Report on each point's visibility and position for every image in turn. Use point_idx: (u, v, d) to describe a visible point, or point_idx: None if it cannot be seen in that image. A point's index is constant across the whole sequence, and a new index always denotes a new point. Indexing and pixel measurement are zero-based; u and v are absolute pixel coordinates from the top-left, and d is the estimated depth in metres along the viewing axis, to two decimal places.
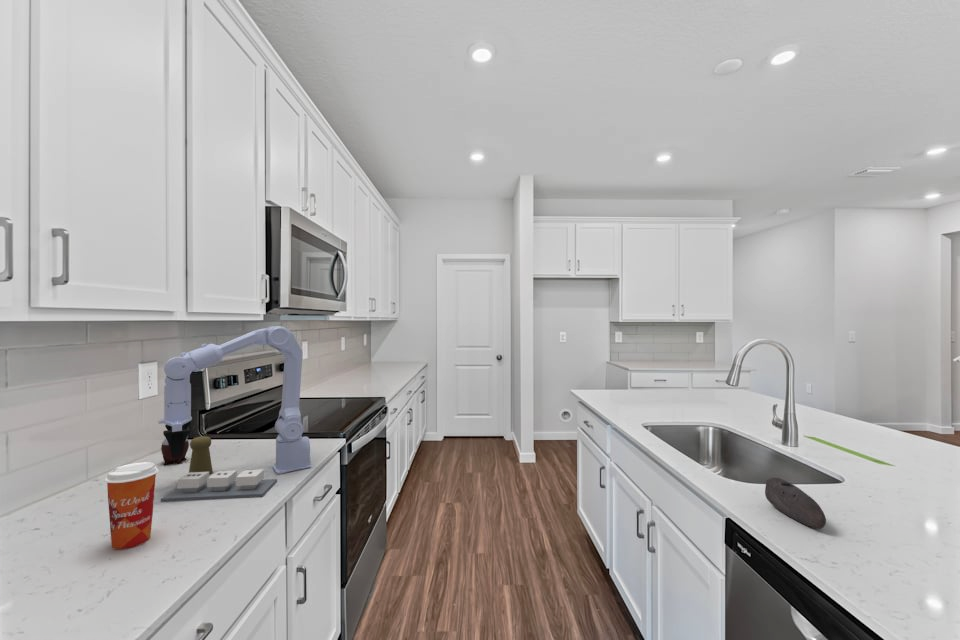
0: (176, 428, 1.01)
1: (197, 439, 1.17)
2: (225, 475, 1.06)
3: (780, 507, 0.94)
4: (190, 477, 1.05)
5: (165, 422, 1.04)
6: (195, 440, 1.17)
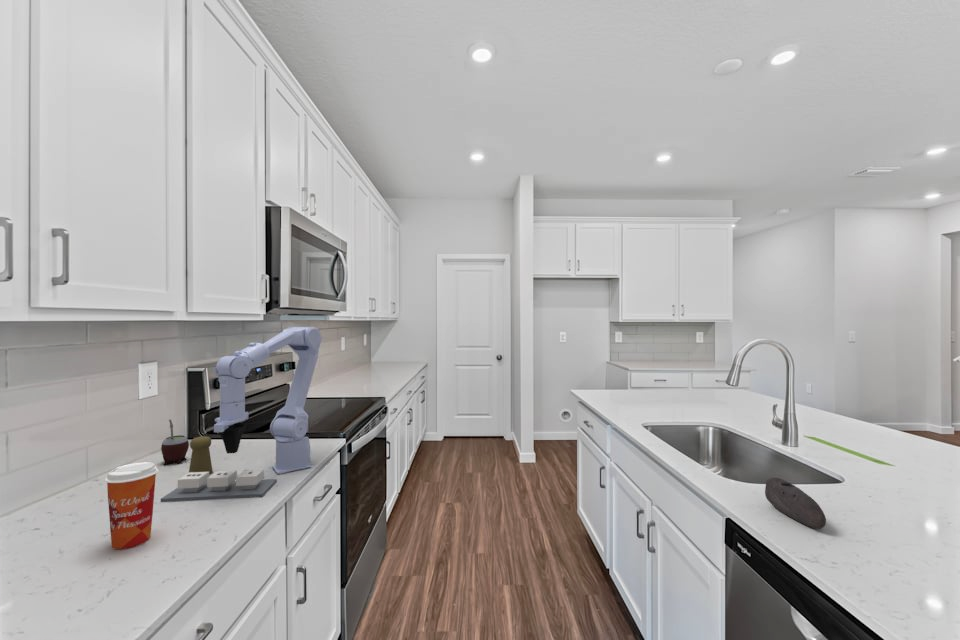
0: (217, 429, 0.99)
1: (197, 439, 1.17)
2: (225, 475, 1.06)
3: (780, 507, 0.94)
4: (190, 477, 1.05)
5: (218, 421, 1.04)
6: (195, 440, 1.17)
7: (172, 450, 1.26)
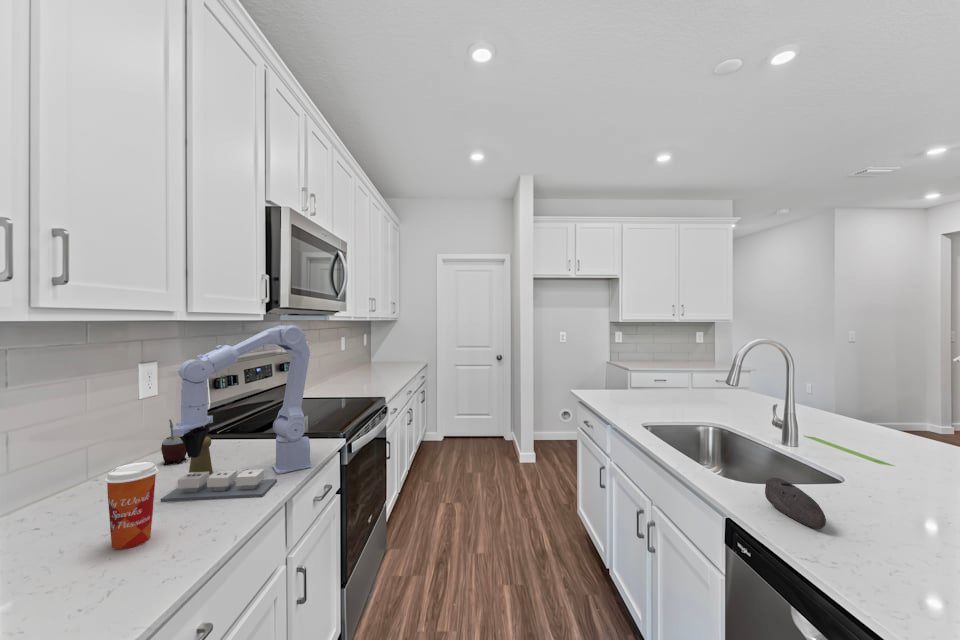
0: (176, 433, 0.99)
1: None
2: (225, 475, 1.06)
3: (780, 507, 0.94)
4: (190, 477, 1.05)
5: (179, 425, 1.04)
6: None
7: (172, 450, 1.26)
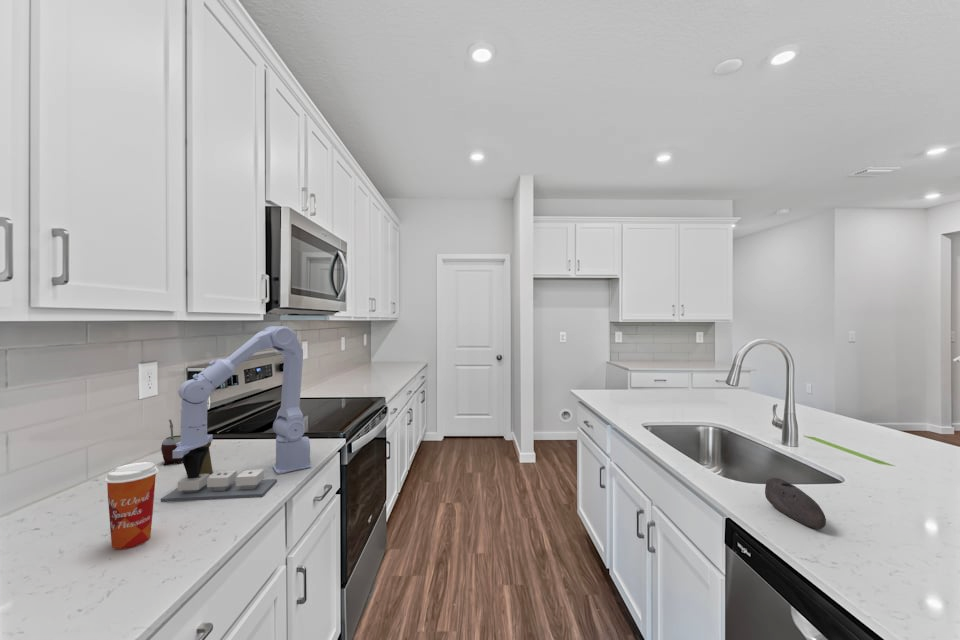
0: (176, 455, 0.99)
1: None
2: (225, 475, 1.06)
3: (780, 507, 0.94)
4: (190, 479, 1.05)
5: None
6: None
7: (172, 450, 1.26)
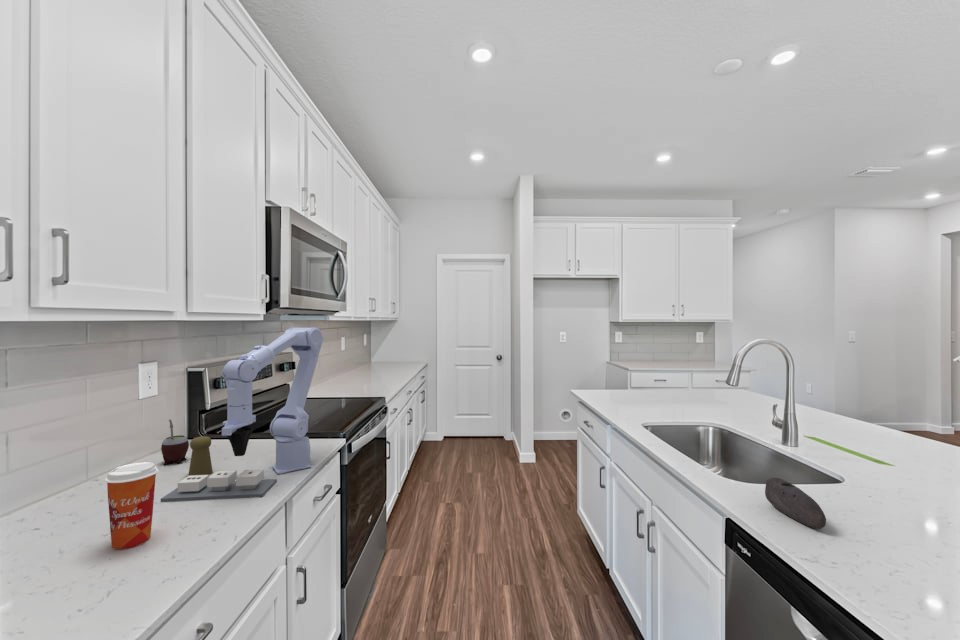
0: (225, 432, 1.00)
1: (197, 439, 1.17)
2: (225, 475, 1.06)
3: (780, 507, 0.94)
4: (190, 480, 1.05)
5: (226, 424, 1.05)
6: (195, 440, 1.17)
7: (172, 450, 1.26)
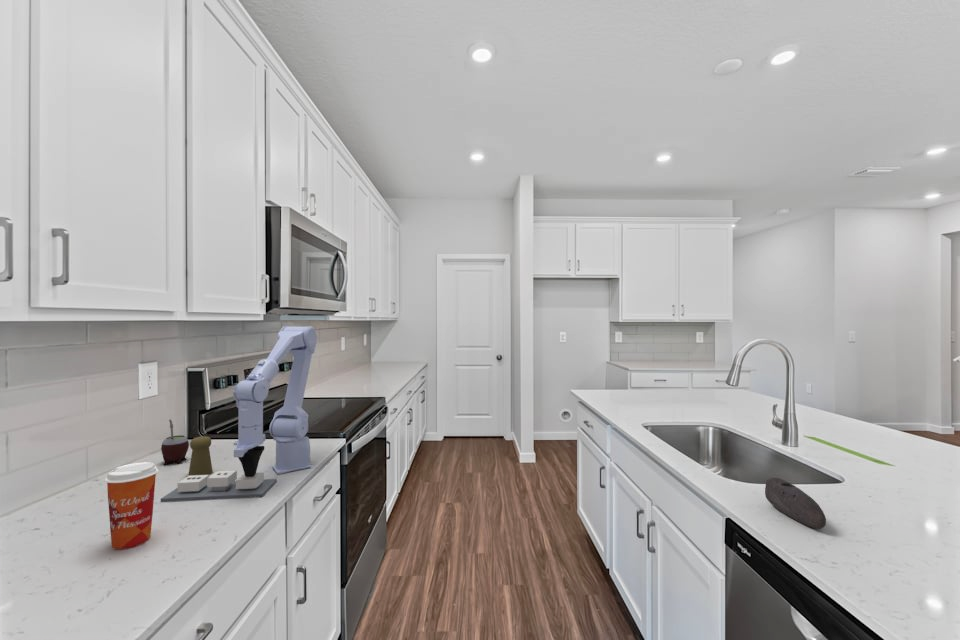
0: (237, 454, 1.01)
1: (197, 439, 1.17)
2: (225, 475, 1.06)
3: (780, 507, 0.94)
4: (190, 480, 1.05)
5: (237, 445, 1.05)
6: (195, 440, 1.17)
7: (172, 450, 1.26)
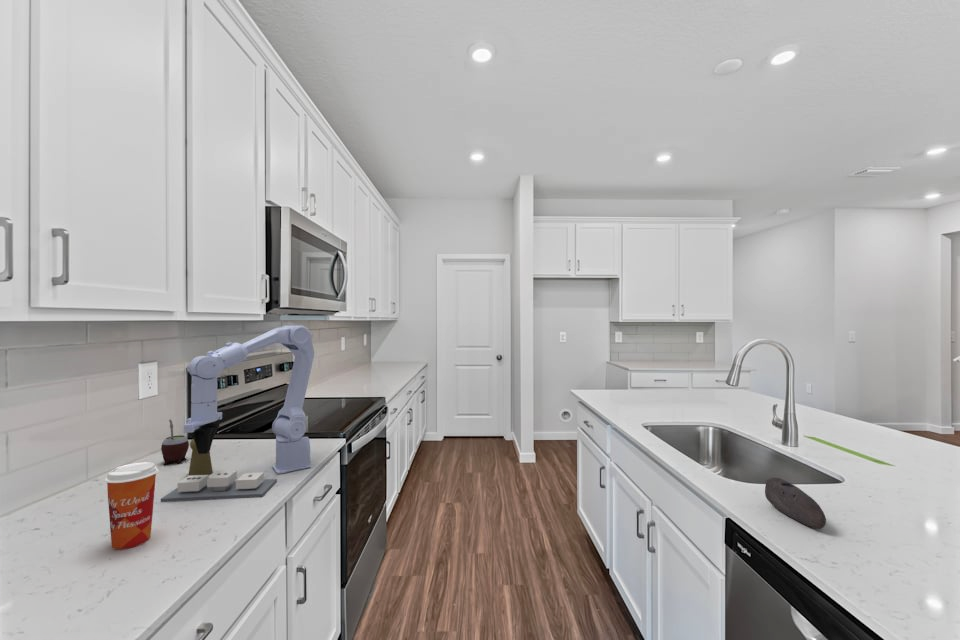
0: (187, 429, 0.99)
1: None
2: (225, 475, 1.06)
3: (780, 507, 0.94)
4: (190, 480, 1.05)
5: (189, 421, 1.04)
6: None
7: (172, 450, 1.26)
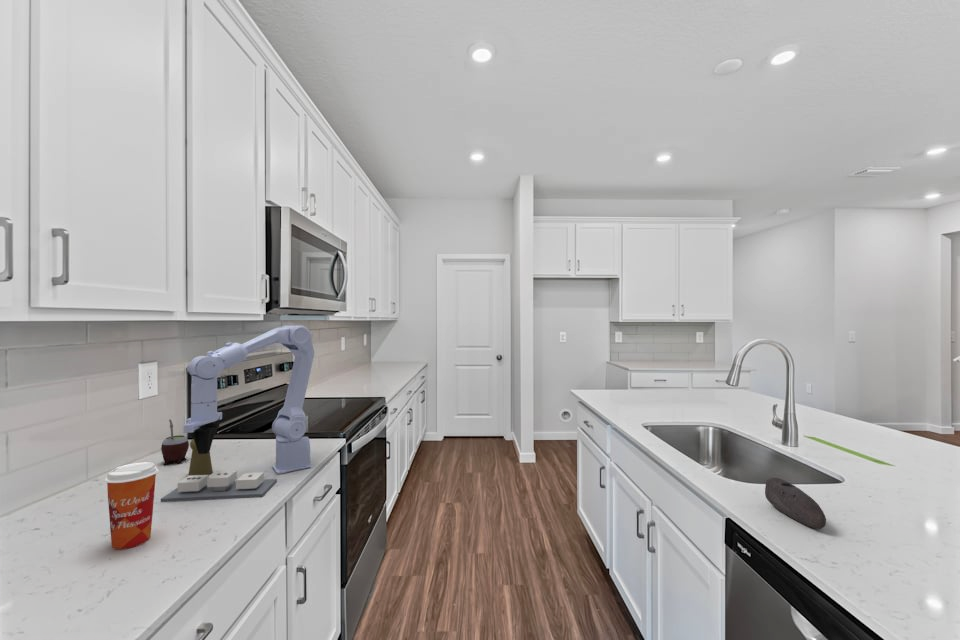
0: (187, 429, 0.99)
1: None
2: (225, 475, 1.06)
3: (780, 507, 0.94)
4: (190, 480, 1.05)
5: (189, 421, 1.04)
6: None
7: (172, 450, 1.26)
